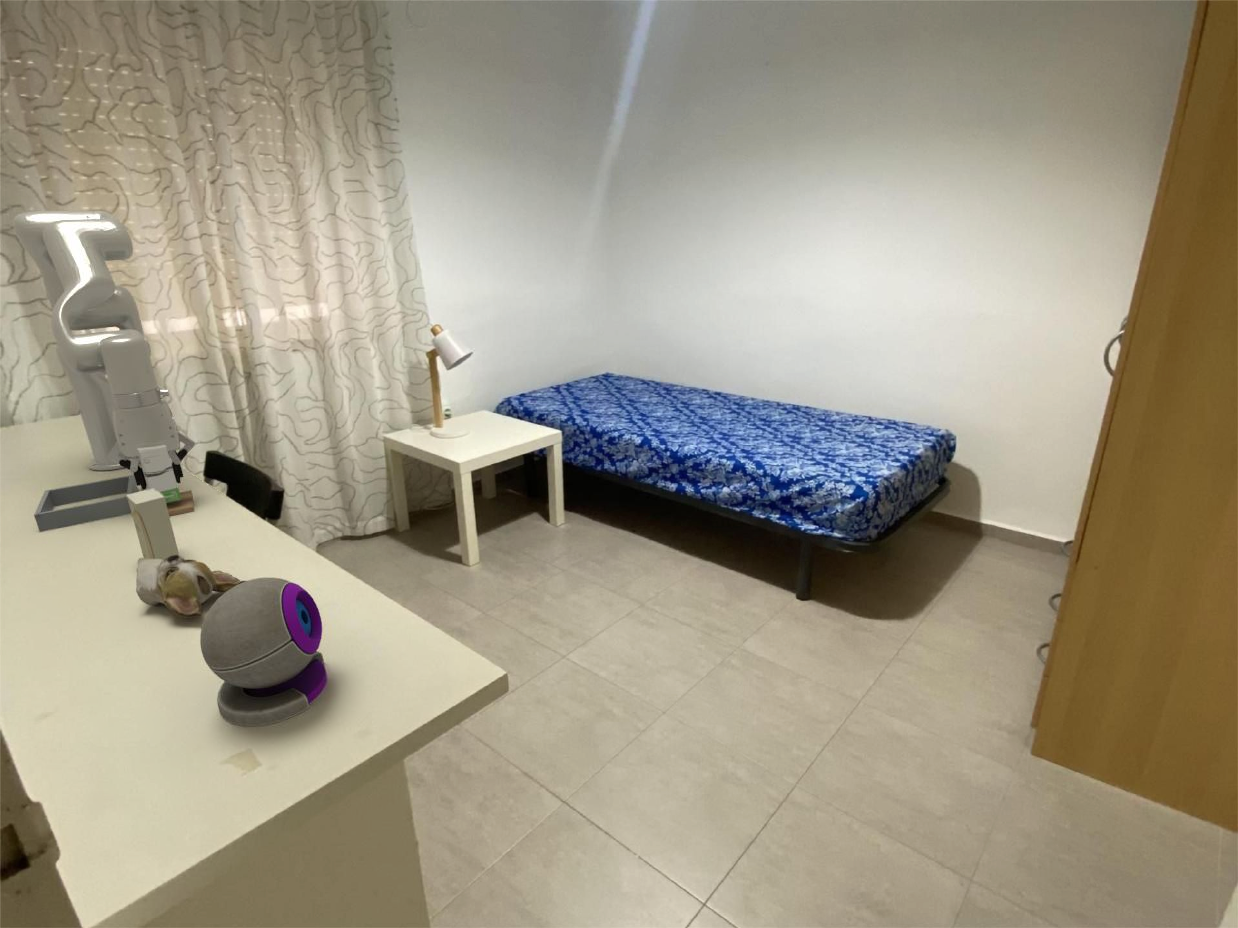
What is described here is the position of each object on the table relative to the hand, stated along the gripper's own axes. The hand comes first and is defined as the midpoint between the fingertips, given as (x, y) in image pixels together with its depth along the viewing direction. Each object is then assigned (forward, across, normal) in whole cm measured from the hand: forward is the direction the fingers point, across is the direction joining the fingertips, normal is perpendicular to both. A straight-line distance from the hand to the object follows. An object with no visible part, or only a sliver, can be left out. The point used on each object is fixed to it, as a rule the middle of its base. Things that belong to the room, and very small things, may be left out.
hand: (161, 483), depth 140 cm
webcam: (+5, -11, +78) cm, 79 cm away
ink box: (+3, 0, 0) cm, 3 cm away
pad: (+5, 0, 0) cm, 5 cm away
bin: (+5, +13, -9) cm, 17 cm away
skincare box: (+5, +1, +27) cm, 28 cm away
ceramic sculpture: (+5, -2, +48) cm, 48 cm away
